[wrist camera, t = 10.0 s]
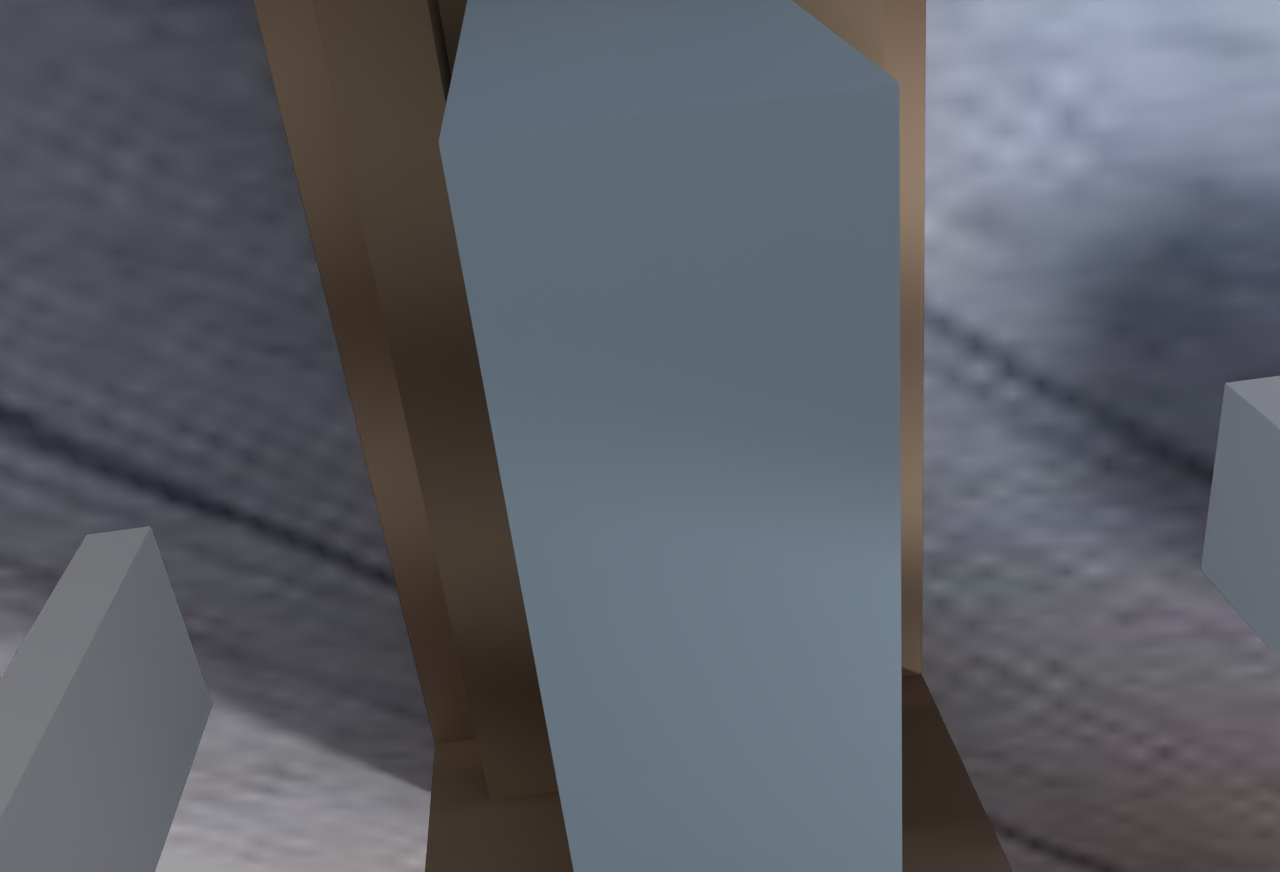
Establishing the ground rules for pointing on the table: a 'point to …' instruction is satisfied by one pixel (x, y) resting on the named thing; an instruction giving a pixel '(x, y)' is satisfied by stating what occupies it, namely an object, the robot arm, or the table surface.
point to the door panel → (694, 416)
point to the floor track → (461, 430)
